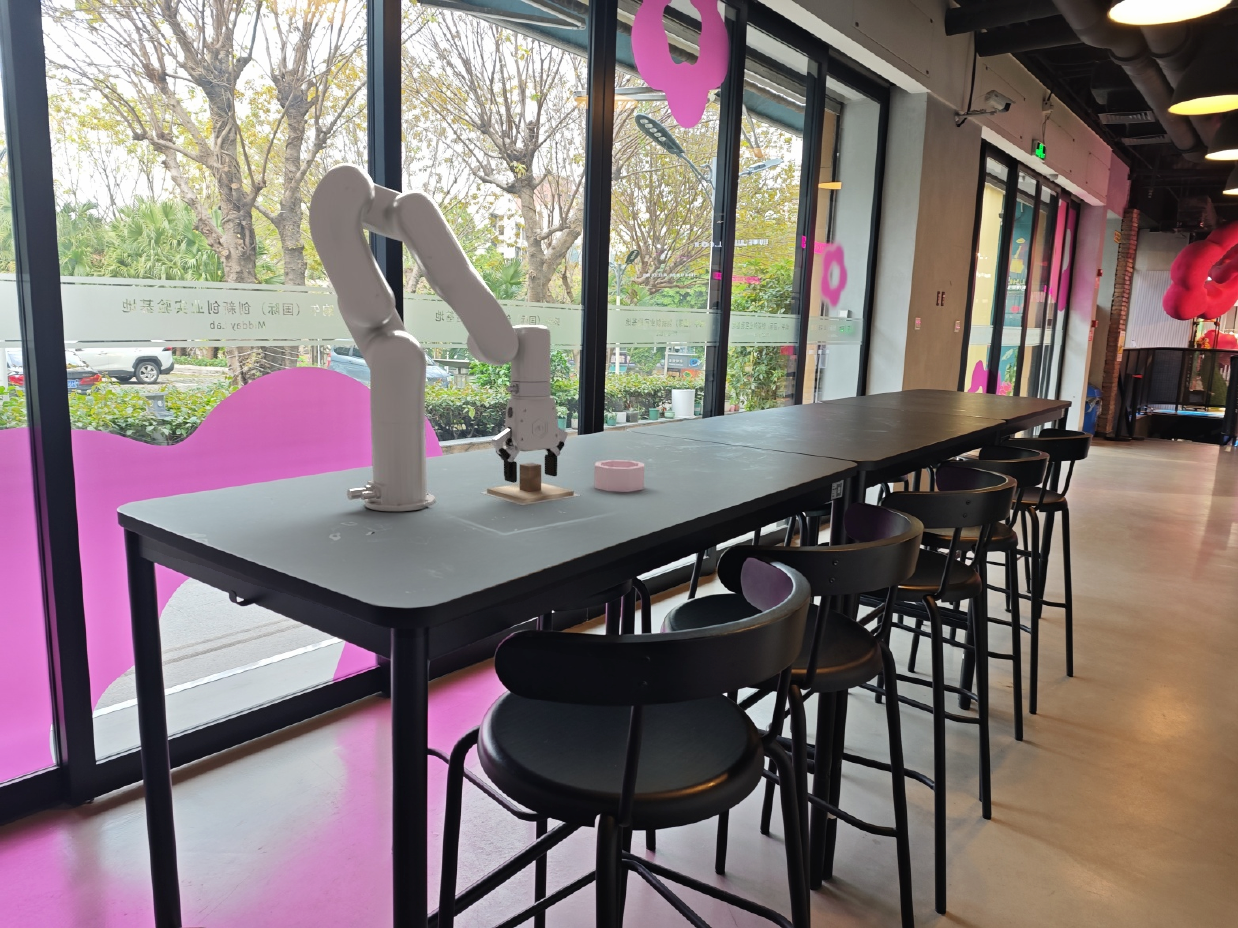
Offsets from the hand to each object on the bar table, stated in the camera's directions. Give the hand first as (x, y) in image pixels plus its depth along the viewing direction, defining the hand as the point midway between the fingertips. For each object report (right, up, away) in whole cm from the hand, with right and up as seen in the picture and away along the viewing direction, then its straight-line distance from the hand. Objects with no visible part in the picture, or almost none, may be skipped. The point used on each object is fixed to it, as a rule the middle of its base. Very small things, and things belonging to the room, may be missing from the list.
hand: (531, 478), depth 162 cm
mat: (0, -3, +1) cm, 4 cm away
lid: (0, -3, +1) cm, 3 cm away
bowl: (+17, -2, +10) cm, 20 cm away
